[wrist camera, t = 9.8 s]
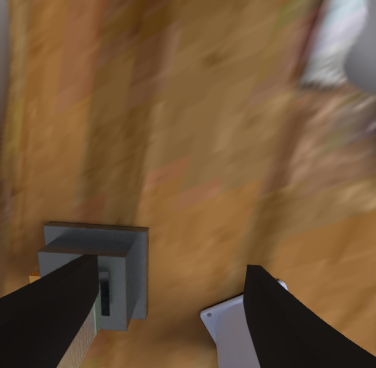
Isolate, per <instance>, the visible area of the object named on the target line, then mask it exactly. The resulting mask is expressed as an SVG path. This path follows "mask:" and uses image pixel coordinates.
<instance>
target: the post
mask: <svg viewBox="0 0 376 368" xmlns="http://www.w3.org/2000/svg"><path fill="white" fill-rule="evenodd" d="M101 325H102V315H101V295H100V283H99V294H98V296H97V298H96V300H95V303H94V305H93V307H92V309H91V311H90V313H89V315H88V317H87V318H86V320H85V322H84V323H83V325H82V327H81V328H80V330H79V332H78V333H77V335H76V337H75V338H74V340H73V341H72V343H71V345H70V346H69V348H68V350H67V351H66V353H65V355H64V356H63V358H62V360H61V361H60V363H59V364H58V366H57V368H79V367H80V365H81V363H82V361H83V359H84V357H85V355H86V353H87V351H88V349H89V347H90V345H91V343H92V341H93V339H94V337H95V335H97V333H98V331H99V329H100V327H101Z"/></svg>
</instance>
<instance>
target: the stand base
mask: <svg viewBox="0 0 376 368" xmlns="http://www.w3.org/2000/svg"><path fill="white" fill-rule="evenodd" d="M43 228H44V237H45V247H43V248H42V249H40V250H39V251H38V252H37V253H38V261H39V269H40V272H33V273H32V274H31V275H30V276H29V279H30V283H32V282H34V281H36V280H38V279H40V278H41V277H43V276H45V275H47V274H49V273H51V272H52V271H54V270H56V269H58V268H60V267H61V266H63V265H65V264H67V263H69V262H70V261H72V260H74V259H76V258H78V257H80V256H82V255H84V254H91V255H97V256H98V274H99V283H100V295H101V315H102V325H101V327H100V329H106V330H119V331H127V328H128V326H129V323H130V320H131V319H143V320H146V317H147V313H148V244H149V228H143V227H127V226H111V225H96V224H80V223H65V222H49V223H47V224H45V225H44V226H43Z"/></svg>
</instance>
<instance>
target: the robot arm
mask: <svg viewBox="0 0 376 368" xmlns="http://www.w3.org/2000/svg"><path fill="white" fill-rule="evenodd" d="M98 294H99V274H98V256H97V255H91V254H84V255H82V256H80V257H78V258H76V259H74V260H72V261H70V262H69V263H67V264H65V265H63V266H61V267H60V268H58V269H56V270H54V271H52V272H51V273H49V274H47V275H45V276H43V277H41V278H40V279H38V280H36V281H34V282H32V283H30V284H28V285H26V286H24V287H22V288H20V289H18V290H16V291H14V292H12V293H10V294H8V295H6V296H4V297H2V298H0V368H57V366H58V364H59V363H60V361H61V360H62V358H63V356H64V355H65V353H66V351H67V350H68V348H69V346H70V345H71V343H72V341H73V340H74V338H75V337H76V335H77V333H78V332H79V330H80V328H81V327H82V325H83V323H84V322H85V320H86V318H87V317H88V315H89V313H90V311H91V309H92V307H93V305H94V303H95V300H96V298H97V296H98ZM208 313H211V314H208ZM200 317H201V319H202V321H203V323H204V324H205V326H206V328H207V330H208V331H209V333H210V335H211V336H212V338H213V340H214V341H215V343H216V345H217V355H218V366H219V368H376V357H375V356H374V355H372V354H370V353H369V352H367V351H366V350H364V349H363V348H361V347H360V346H358V345H357V344H355V343H354V342H352V341H351V340H349V339H348V338H346V337H345V336H344V335H342V334H341V333H340V332H338V331H337V330H335V329H334V328H333V327H331V326H330V325H329V324H327V323H326V322H325V321H323V320H322V319H321V318H319V317H318V316H317V315H316V314H314V313H313V312H312V311H311V310H310V309H308V308H307V307H306V306H305V305H303V304H302V303H301V302H300V301H299V300H298V299H296V298H295V297H294V296H293V295H292V294H291V293H290V292H289V291H288V289H287V287H286V285H285V283H284V282H283V281H277V280H276V279H275V278H273V277H272V276H271V275H270V274H269V273H268V272H267V271H266V270H265V269H264V268H263V267H262V266H260V265H247V271H246V279H245V287H244V294H243V295H241V296H238V297H236V298H233V299H231V300H228V301H226V302H223V303H221V304H218V305H216V306H213V307H211V308H208V309H205V310H203V311H201V313H200Z"/></svg>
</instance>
